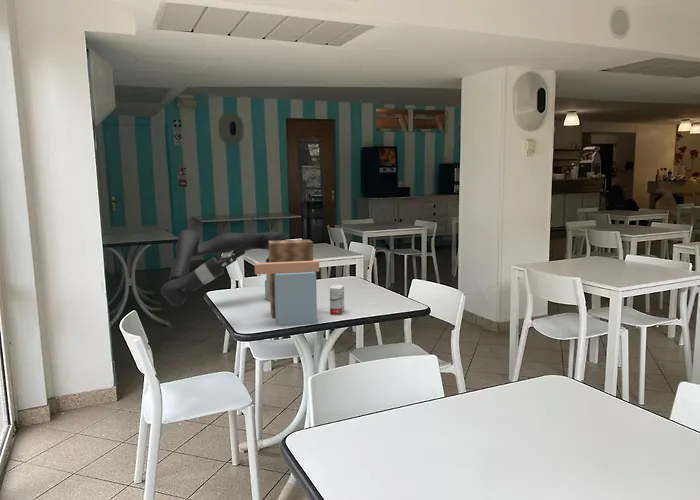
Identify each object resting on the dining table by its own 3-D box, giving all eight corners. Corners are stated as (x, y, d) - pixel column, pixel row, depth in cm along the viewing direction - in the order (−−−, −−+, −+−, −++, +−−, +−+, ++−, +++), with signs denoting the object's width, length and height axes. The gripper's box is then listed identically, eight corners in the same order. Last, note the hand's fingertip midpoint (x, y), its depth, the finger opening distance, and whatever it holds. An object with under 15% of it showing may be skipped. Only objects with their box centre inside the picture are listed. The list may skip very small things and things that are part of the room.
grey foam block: (277, 326, 222) (276, 274, 219) (275, 319, 232) (274, 270, 229) (317, 323, 225) (316, 272, 223) (313, 317, 235) (312, 268, 232)
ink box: (340, 315, 238) (340, 288, 237) (329, 314, 239) (329, 288, 238) (344, 310, 247) (344, 284, 245) (334, 309, 248) (333, 284, 246)
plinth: (272, 318, 234) (270, 243, 230) (270, 312, 244) (268, 240, 240) (314, 315, 238) (312, 242, 234) (310, 309, 248) (309, 239, 244)
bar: (255, 274, 220) (255, 264, 220) (254, 272, 224) (254, 263, 224) (319, 271, 226) (319, 261, 225) (317, 269, 230) (317, 260, 229)
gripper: (203, 266, 213) (239, 243, 215) (204, 260, 226) (237, 239, 228) (214, 281, 214) (250, 259, 216) (214, 275, 228) (247, 253, 230)
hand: (243, 248), depth 222 cm, fingers open, 8 cm apart
